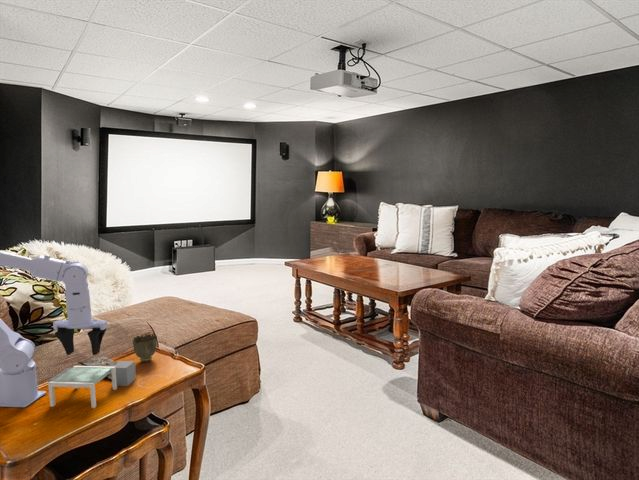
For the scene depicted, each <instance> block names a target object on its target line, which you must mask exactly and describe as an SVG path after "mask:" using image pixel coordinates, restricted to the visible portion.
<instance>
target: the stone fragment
mask: <svg viewBox="0 0 639 480" xmlns="http://www.w3.org/2000/svg"><path fill="white" fill-rule="evenodd" d="M96 356H97V355H96ZM105 361H106V363H102V362H105ZM118 362H119V361H118ZM118 362H117V361H115V360H114V359H111V358H109V357H108V356H97V357H95V358H92V359H89V360H88V359H87V360H86V359H85V360H82V361H81V363H82V364H83V365H86V366H110V367H113V366H114V365H115V364H116V363H118ZM106 377H107V378H108V379H111V380H112V373H109V374H108V375H107V376H106Z"/></svg>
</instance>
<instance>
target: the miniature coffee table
mask: <svg viewBox="0 0 639 480" xmlns="http://www.w3.org/2000/svg"><path fill="white" fill-rule="evenodd" d="M73 367H75V368H109V369H111V373H112V379H111V384H112V391H113V390H114V391H115V390H117V389H118V386H117V381H116V367H110V366H89V365H74V366H72V368H73ZM47 384H48V394H49V404H50V407H55V406H56V396H55V395H56V394H55V388H56V387H58V388H74V389H75V390H76V389H80V388H84V389H85V388H87V389H88V388H89V392H90V403H91V404H90V405H91V408H92V409H95V408H96V407H97V399H96V398H97V397H96V396H97V395H96V384H95V383H90V382H54V381H50V382H49V383H47Z"/></svg>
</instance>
